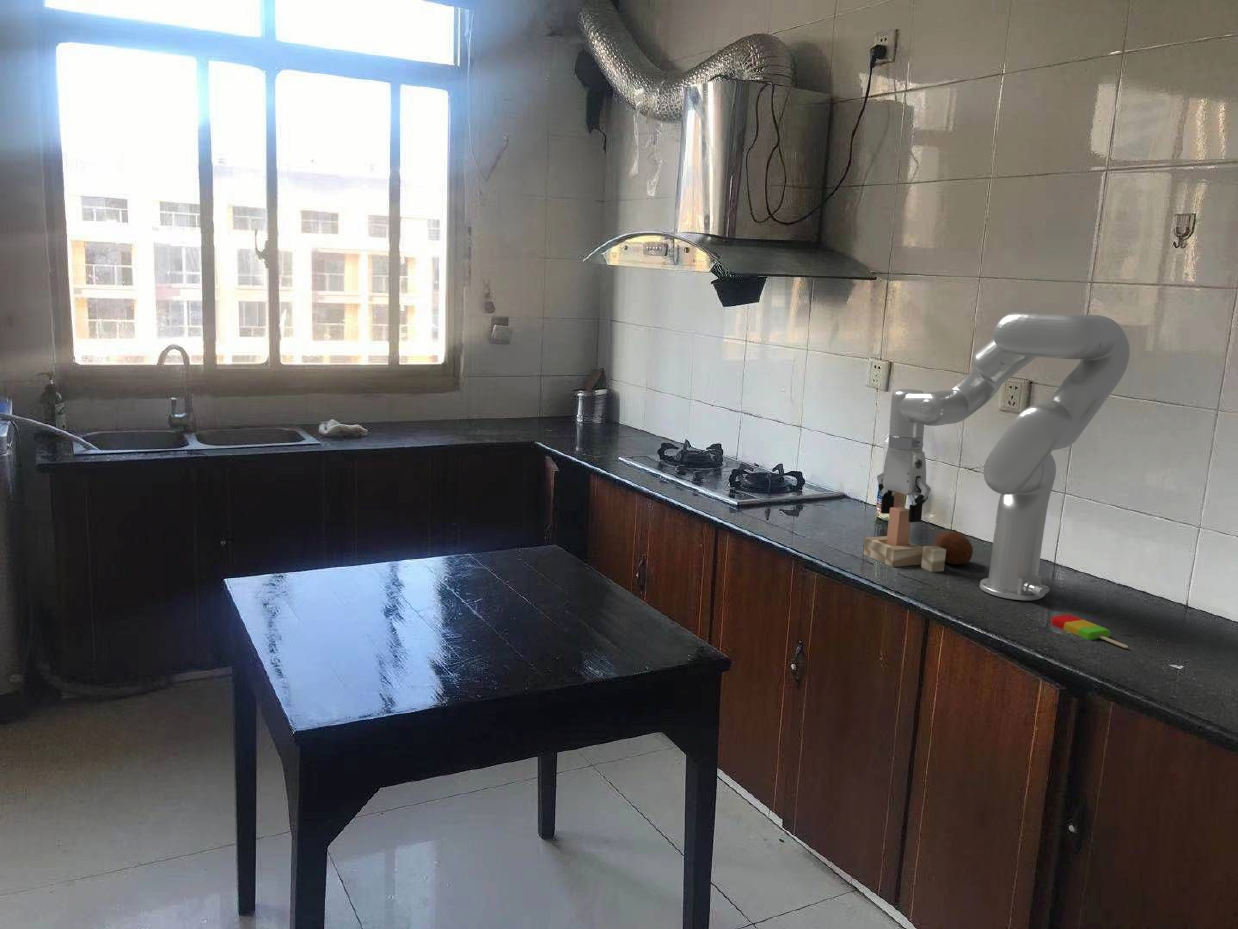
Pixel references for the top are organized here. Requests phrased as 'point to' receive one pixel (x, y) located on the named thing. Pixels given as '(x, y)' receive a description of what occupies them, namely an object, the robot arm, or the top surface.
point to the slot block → (893, 552)
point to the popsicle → (1083, 628)
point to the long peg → (898, 527)
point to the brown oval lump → (955, 547)
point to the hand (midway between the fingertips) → (900, 517)
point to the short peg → (933, 558)
